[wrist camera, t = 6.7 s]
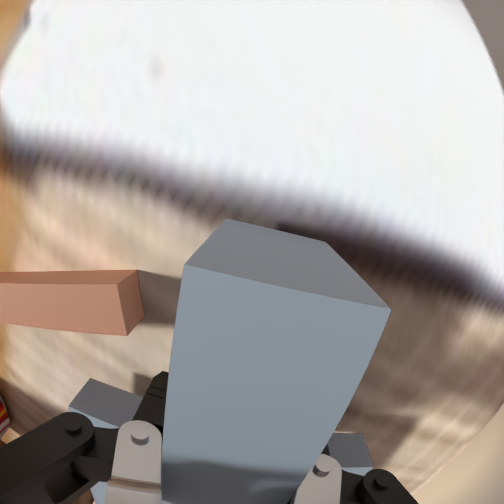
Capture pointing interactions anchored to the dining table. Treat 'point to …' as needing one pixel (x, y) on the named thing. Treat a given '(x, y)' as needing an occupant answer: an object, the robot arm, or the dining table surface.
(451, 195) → the dining table surface
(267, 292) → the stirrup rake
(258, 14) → the dining table surface
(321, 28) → the dining table surface
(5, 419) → the soda can
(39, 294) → the stick
